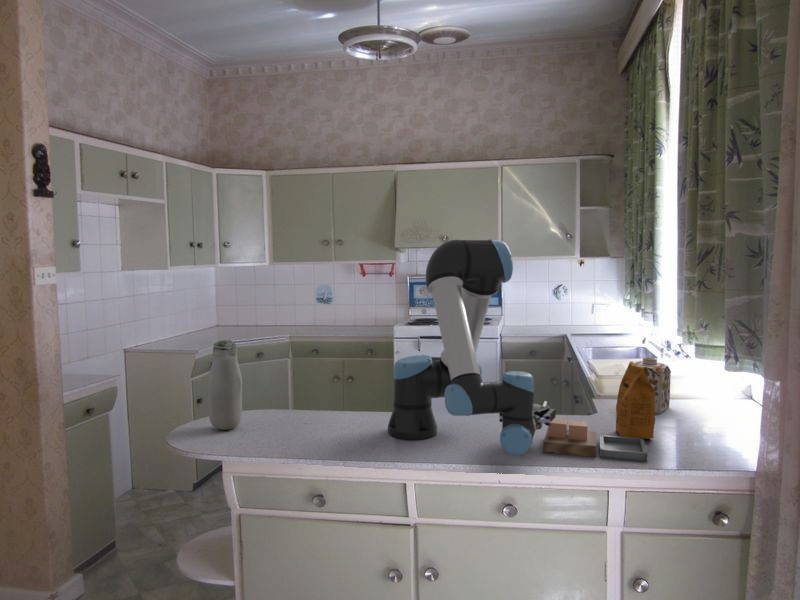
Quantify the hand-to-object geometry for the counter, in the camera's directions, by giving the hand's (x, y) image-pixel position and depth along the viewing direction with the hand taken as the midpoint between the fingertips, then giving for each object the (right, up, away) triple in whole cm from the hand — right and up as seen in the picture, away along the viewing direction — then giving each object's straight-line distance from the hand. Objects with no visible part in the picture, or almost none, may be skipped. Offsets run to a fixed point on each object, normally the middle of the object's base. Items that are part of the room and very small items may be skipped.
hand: (530, 404), depth 189 cm
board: (+10, -11, -6) cm, 16 cm away
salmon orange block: (+12, -8, -7) cm, 16 cm away
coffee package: (+32, -10, +5) cm, 34 cm away
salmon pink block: (+7, -8, -5) cm, 12 cm away
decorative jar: (+49, -8, +37) cm, 62 cm away
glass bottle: (-93, -10, +11) cm, 94 cm away
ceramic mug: (-1, -6, -2) cm, 7 cm away
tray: (+24, -11, -10) cm, 28 cm away
